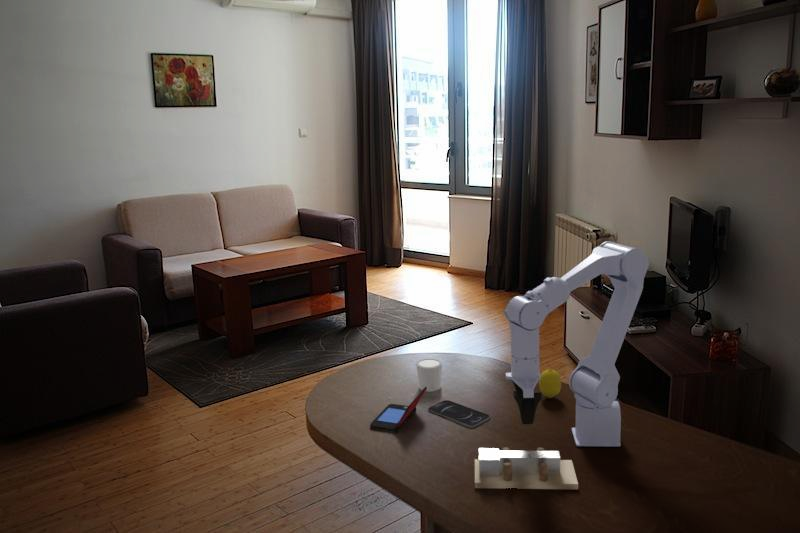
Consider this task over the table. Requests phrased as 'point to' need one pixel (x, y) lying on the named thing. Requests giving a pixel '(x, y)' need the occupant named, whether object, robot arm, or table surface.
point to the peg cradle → (530, 477)
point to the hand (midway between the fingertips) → (525, 414)
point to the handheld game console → (395, 415)
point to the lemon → (550, 383)
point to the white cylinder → (429, 374)
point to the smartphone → (459, 413)
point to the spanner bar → (517, 462)
